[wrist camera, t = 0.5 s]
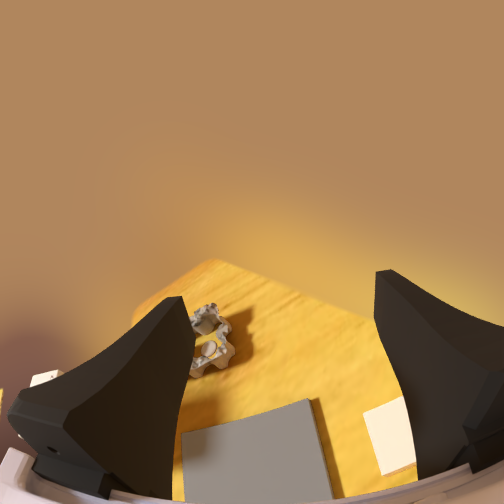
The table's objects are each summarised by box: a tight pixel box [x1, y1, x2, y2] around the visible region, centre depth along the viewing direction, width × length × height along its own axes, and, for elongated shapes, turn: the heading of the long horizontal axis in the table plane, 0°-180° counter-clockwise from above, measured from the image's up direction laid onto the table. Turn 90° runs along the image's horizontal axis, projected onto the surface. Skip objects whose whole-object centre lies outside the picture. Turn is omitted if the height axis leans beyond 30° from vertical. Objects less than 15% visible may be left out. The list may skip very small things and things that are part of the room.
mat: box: [181, 398, 335, 504], centre depth 21 cm, size 16×14×1 cm
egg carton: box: [189, 303, 235, 378], centre depth 35 cm, size 11×8×4 cm
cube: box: [363, 396, 417, 477], centre depth 18 cm, size 5×5×5 cm
